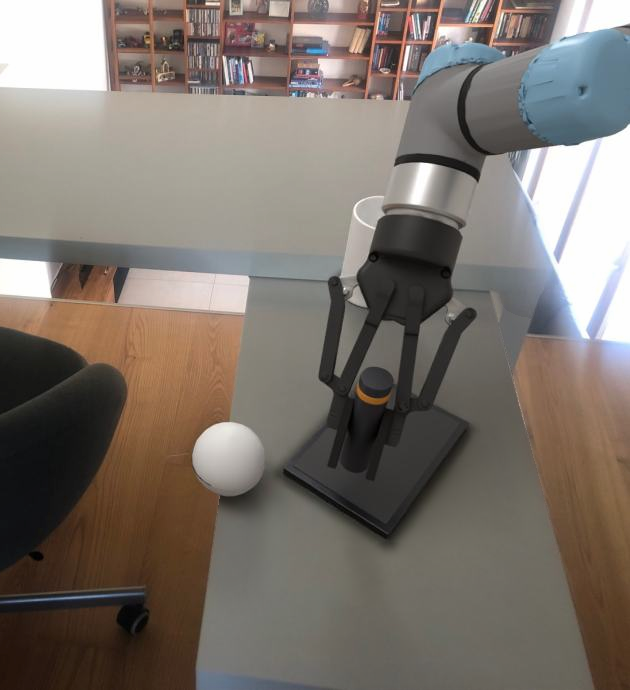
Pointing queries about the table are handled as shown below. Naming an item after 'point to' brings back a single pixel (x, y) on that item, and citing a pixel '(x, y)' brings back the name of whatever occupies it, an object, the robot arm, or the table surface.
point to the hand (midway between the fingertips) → (351, 471)
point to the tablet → (380, 468)
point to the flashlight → (366, 418)
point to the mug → (361, 240)
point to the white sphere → (228, 459)
